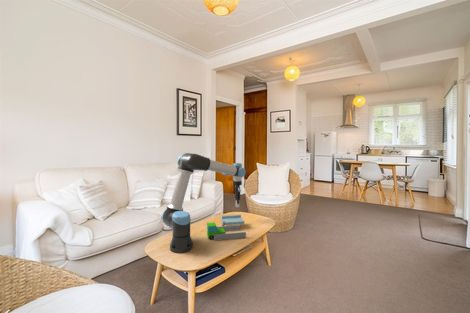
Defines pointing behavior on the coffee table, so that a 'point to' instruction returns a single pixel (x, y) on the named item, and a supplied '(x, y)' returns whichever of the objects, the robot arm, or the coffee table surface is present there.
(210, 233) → the toy car
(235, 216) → the cover
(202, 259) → the coffee table surface
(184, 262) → the coffee table surface
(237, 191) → the robot arm
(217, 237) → the grey long bars
